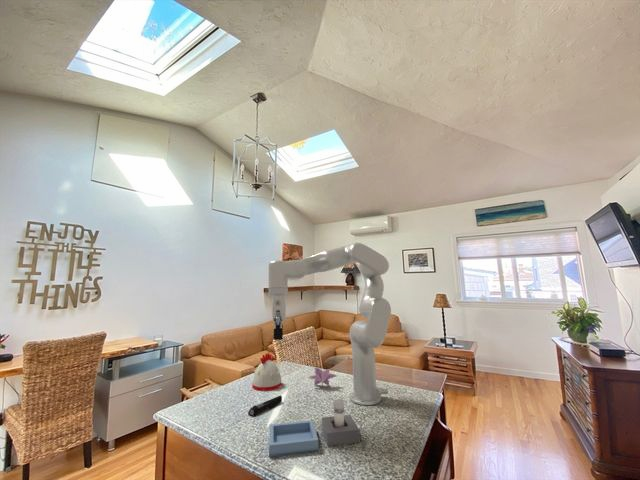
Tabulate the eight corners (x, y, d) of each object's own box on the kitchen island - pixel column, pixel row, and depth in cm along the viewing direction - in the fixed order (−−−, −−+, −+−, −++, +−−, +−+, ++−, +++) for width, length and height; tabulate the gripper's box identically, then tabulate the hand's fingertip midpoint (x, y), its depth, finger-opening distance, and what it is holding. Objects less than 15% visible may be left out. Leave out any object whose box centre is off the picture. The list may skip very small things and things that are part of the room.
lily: (340, 390, 127) (337, 368, 133) (329, 387, 119) (326, 363, 125) (318, 395, 131) (315, 374, 137) (306, 393, 122) (304, 370, 128)
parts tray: (312, 430, 90) (312, 420, 91) (318, 451, 78) (318, 439, 79) (269, 434, 88) (269, 424, 88) (268, 457, 76) (269, 445, 77)
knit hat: (246, 387, 131) (246, 354, 133) (267, 379, 142) (267, 348, 144) (266, 393, 123) (267, 358, 125) (287, 384, 134) (287, 351, 136)
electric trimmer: (284, 404, 112) (284, 395, 112) (253, 418, 100) (253, 408, 100) (278, 402, 114) (278, 393, 115) (247, 415, 102) (247, 406, 103)
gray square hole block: (350, 426, 92) (350, 414, 93) (359, 442, 83) (359, 429, 83) (321, 429, 91) (321, 417, 91) (327, 446, 81) (327, 433, 82)
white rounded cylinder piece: (343, 432, 88) (342, 398, 90) (345, 437, 85) (344, 402, 87) (333, 433, 88) (332, 399, 90) (335, 438, 85) (335, 403, 86)
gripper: (288, 292, 100) (288, 341, 97) (287, 291, 117) (287, 333, 114) (267, 292, 99) (267, 342, 96) (269, 291, 116) (269, 334, 113)
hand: (278, 337), depth 105 cm, fingers open, 9 cm apart
